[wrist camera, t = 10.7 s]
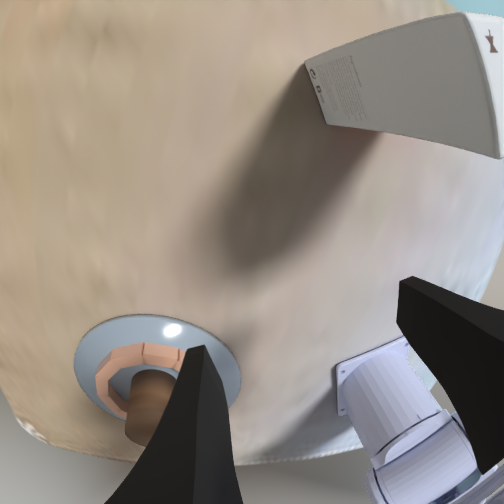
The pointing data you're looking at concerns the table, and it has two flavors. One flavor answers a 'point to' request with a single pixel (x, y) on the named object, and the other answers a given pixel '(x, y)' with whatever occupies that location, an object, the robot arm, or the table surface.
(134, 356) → the ring dish
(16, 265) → the table surface
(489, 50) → the skincare box
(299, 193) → the table surface
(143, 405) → the brown rounded cylinder
